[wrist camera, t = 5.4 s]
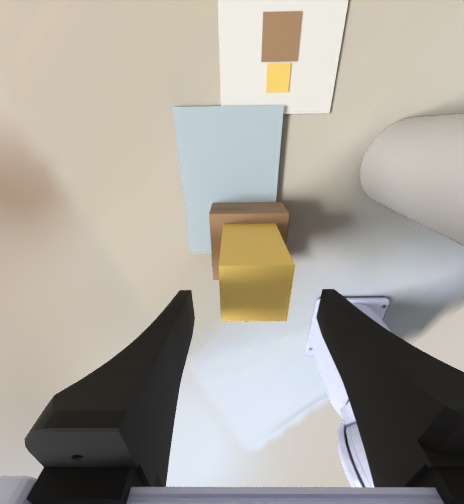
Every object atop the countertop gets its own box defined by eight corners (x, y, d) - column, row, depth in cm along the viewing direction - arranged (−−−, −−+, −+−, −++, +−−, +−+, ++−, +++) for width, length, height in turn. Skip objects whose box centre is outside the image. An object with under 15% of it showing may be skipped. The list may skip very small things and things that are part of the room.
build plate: (270, 249, 22) (271, 252, 22) (190, 250, 22) (189, 253, 22) (282, 106, 16) (283, 105, 16) (173, 107, 16) (171, 107, 16)
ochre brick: (271, 267, 19) (286, 320, 14) (224, 268, 19) (221, 321, 14) (275, 223, 17) (294, 265, 12) (222, 223, 17) (218, 265, 12)
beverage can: (456, 131, 17) (813, 132, 7) (404, 209, 20) (593, 296, 10) (383, 106, 16) (655, 60, 6) (340, 191, 19) (470, 262, 9)
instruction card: (328, 113, 17) (330, 113, 16) (221, 115, 17) (221, 114, 16) (347, -2, 14) (349, -4, 13) (217, 1, 14) (217, -1, 14)
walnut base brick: (276, 261, 22) (281, 279, 19) (215, 262, 22) (213, 279, 19) (281, 201, 19) (289, 213, 17) (212, 202, 19) (208, 214, 17)
